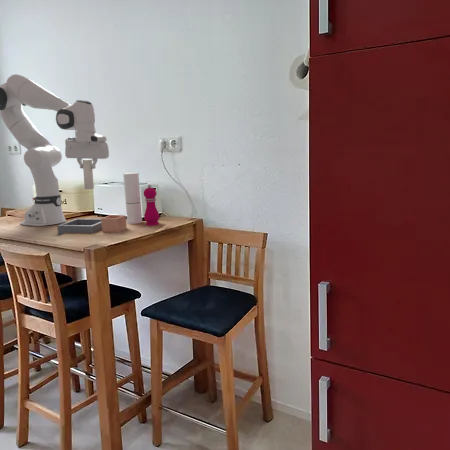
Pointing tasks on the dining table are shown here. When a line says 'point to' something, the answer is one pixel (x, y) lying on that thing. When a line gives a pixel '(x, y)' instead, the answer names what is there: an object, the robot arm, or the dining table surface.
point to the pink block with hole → (113, 223)
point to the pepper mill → (151, 207)
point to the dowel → (88, 174)
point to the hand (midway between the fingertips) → (87, 168)
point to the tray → (80, 226)
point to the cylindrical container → (132, 197)
